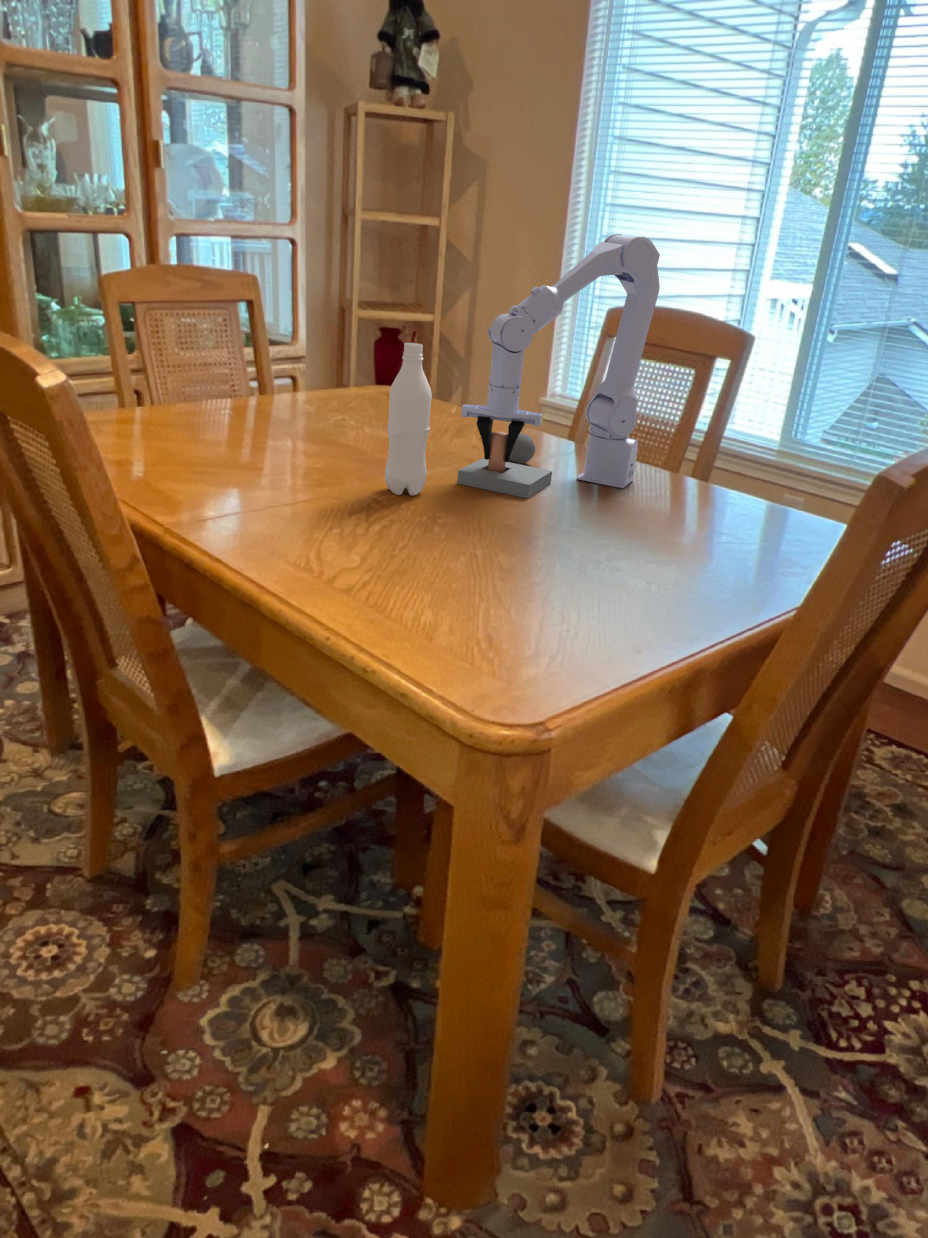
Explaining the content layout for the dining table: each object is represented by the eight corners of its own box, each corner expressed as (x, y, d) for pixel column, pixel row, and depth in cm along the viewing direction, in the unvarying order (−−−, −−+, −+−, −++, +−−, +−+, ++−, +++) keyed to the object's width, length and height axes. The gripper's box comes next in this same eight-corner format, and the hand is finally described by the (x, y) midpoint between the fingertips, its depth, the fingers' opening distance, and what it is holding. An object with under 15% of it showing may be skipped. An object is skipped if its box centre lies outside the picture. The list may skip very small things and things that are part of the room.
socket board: (550, 483, 168) (552, 470, 167) (527, 498, 158) (529, 484, 157) (483, 469, 173) (484, 457, 172) (457, 483, 163) (458, 470, 162)
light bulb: (515, 444, 187) (546, 443, 179) (503, 469, 186) (533, 469, 178) (496, 428, 183) (526, 427, 175) (483, 453, 182) (513, 453, 174)
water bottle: (419, 500, 152) (429, 349, 141) (379, 494, 153) (386, 344, 143) (429, 489, 158) (439, 344, 148) (390, 483, 159) (398, 339, 149)
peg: (504, 474, 167) (509, 432, 164) (503, 479, 165) (507, 436, 161) (487, 472, 168) (491, 430, 164) (486, 477, 165) (490, 434, 161)
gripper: (546, 386, 162) (538, 459, 167) (468, 377, 163) (462, 449, 169) (543, 392, 155) (534, 468, 161) (462, 383, 157) (455, 458, 163)
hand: (497, 459), depth 165 cm, fingers closed on peg, 3 cm apart
